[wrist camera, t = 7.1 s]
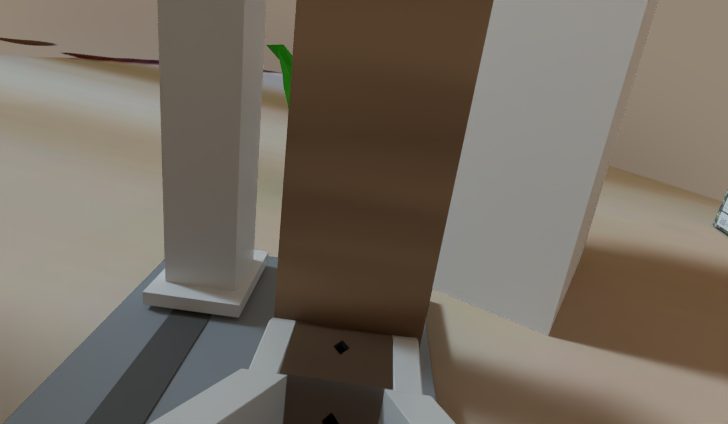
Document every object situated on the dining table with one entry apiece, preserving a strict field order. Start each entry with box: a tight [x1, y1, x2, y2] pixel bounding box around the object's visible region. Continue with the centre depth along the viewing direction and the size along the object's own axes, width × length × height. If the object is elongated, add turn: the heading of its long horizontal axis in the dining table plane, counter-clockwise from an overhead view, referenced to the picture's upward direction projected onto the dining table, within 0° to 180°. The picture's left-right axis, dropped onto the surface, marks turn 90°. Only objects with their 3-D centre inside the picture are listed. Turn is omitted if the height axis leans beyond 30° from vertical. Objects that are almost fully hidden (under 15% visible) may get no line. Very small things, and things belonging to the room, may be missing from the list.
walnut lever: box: [274, 0, 494, 348], centre depth 10 cm, size 5×4×14 cm
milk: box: [432, 0, 658, 336], centre depth 26 cm, size 12×12×26 cm
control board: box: [3, 256, 436, 424], centre depth 16 cm, size 20×13×2 cm, turn 177°
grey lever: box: [142, 0, 268, 318], centre depth 19 cm, size 5×4×14 cm
